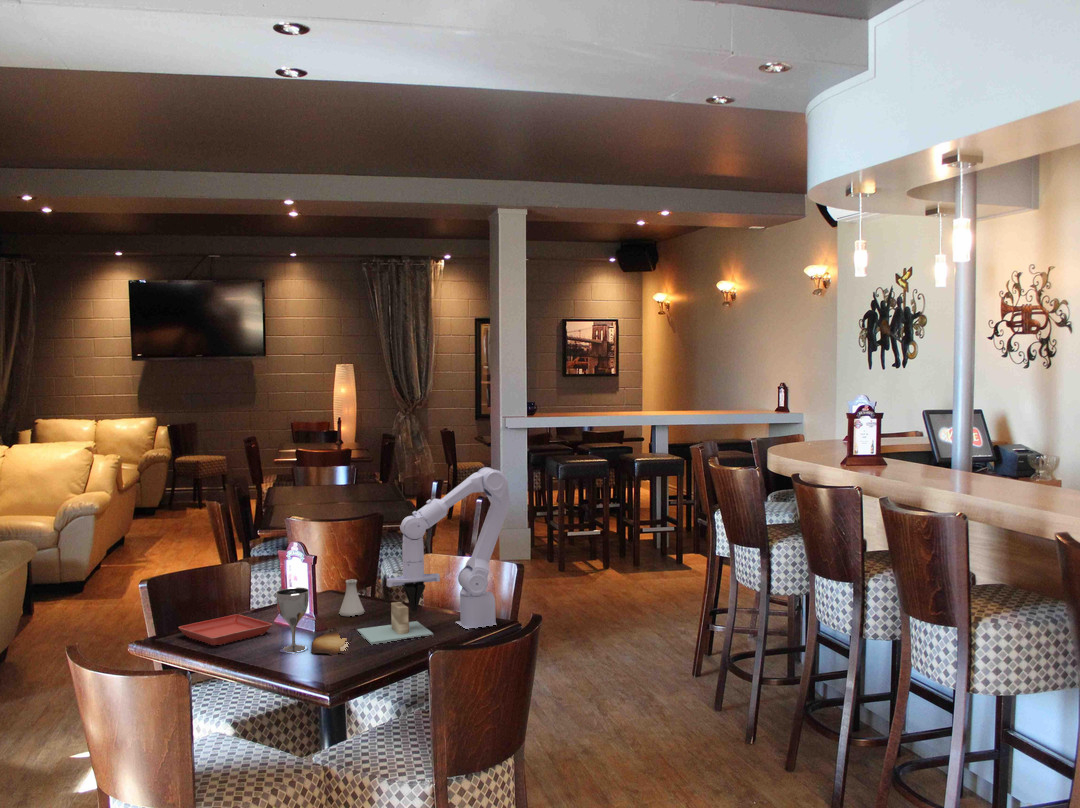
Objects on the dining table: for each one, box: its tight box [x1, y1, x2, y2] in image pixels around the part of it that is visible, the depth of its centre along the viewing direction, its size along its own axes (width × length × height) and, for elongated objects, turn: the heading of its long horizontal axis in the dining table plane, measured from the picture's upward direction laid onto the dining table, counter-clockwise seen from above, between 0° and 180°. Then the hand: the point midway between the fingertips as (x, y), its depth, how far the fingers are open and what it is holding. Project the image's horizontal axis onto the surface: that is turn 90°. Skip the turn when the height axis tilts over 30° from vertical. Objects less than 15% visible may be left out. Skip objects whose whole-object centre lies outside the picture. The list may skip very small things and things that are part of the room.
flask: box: [338, 579, 366, 617], centre depth 262 cm, size 7×7×10 cm
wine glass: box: [276, 587, 310, 652], centre depth 227 cm, size 8×8×15 cm
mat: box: [356, 620, 434, 646], centre depth 240 cm, size 17×14×1 cm
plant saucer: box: [178, 614, 273, 646], centre depth 240 cm, size 18×18×3 cm
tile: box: [390, 601, 410, 635], centre depth 240 cm, size 3×7×7 cm, turn 26°
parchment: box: [310, 627, 355, 656], centre depth 233 cm, size 25×10×1 cm, turn 5°
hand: (413, 610), depth 242 cm, fingers closed
